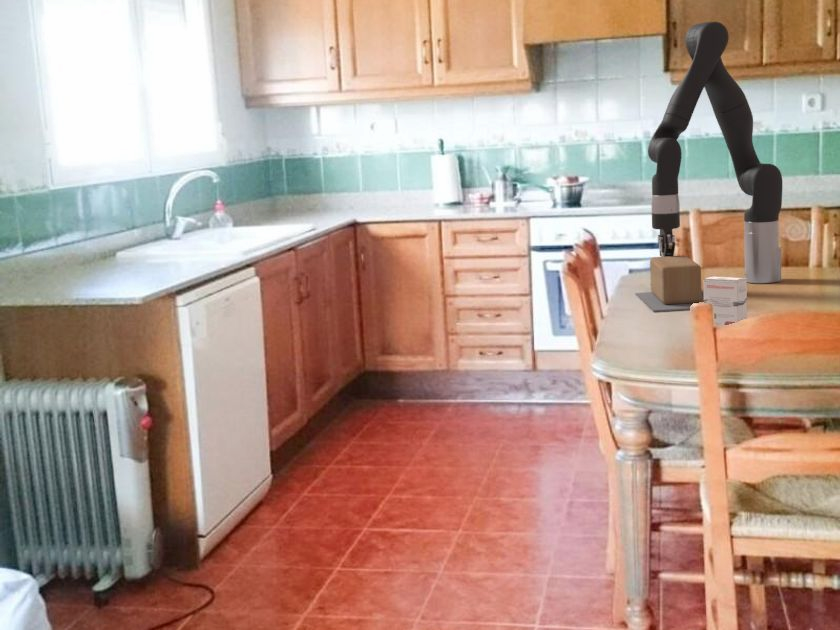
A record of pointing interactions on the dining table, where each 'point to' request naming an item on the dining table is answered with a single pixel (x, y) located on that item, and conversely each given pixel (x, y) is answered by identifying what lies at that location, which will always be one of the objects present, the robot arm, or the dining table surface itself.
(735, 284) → the ink box
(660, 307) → the rubber mat
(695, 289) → the wooden block
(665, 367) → the dining table surface
